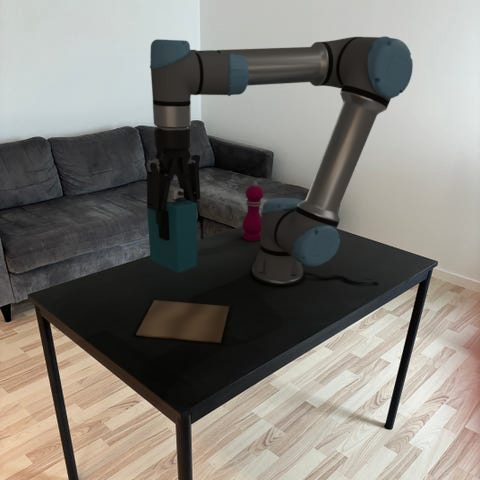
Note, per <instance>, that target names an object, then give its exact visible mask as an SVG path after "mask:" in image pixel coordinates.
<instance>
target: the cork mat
mask: <svg viewBox="0 0 480 480" xmlns="http://www.w3.org/2000/svg"><path fill="white" fill-rule="evenodd" d="M229 311H230V306H229V305H218V304H217V305H216V304H206V303H205V304H204V303H192V302H181V301H171V300H170V301H169V300H157V299H154V300H153V302H152V303H151V305H150V307H149V309H148V311H147V313H146V314H145V316H144V318H143V320H142V322H141V324H140V326H139V327H138V329H137V331H136V333H135V336H138V337H148V338H158V339H169V340H180V341H181V340H182V341H192V342H205V343H215V344H221V343H222V339H223V335H224V331H225V327H226V322H227V318H228V315H229Z"/></svg>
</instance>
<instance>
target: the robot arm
mask: <svg viewBox="0 0 480 480" xmlns="http://www.w3.org/2000/svg"><path fill="white" fill-rule="evenodd" d="M149 55H150V59H149V60H150V61H149V63H150V65H149V69H150V77H151V79H150V80H151V93H152V94H151V96H152V118H153V125H154V126H155V127H154V129H153V138H154V139H153V140H154V146H155V149H156V154H155V158H154V159H152V160H145V161H144V168H145V172H146V208H147V207H148V208H149V209H152V210H154V211H155V212H156V224H157V225H159V238H161V239H164V240H166V241H168V240H170V239H169V214H168V211H166V210H165V209H166V204H167V199H168V194H169V189H170V186H171V182H172V181H173V180H174V176H176V178H177V182H178V185H179V188H180V189H183V197H184V198H186V200H189V201H192V202H195V203H197V204H198V201H200V199H201V183H200V181H201V180H200V162H201V156H200V154H196V153H192V152H191V151H190V148H191V146H192V130H191V128H189V127H190V126H191V125H192V120H191V119H192V114H191V113H192V112H191V111H192V110H191V109H192V108H191V107H192V105H191V104H192V103H191V101H192V100H191V97H192V96H199V95H200V96H228V97H231V96H235V95H236V96H237V95H242V94H243V93H244V92H245V91H246V90H247V87H248V86H265V85H267V86H268V85H283V84H299V83H300V84H301V83H310V84H311V85H312V86H314V87H330V88H331V87H332V88H337V89H340V92H339V95H340V96H341V97H340V98H341V100H342V105H341V107H340V110H339V111H338V115H337V117H336V119H335V123H334V125H333V128H332V130H331V133H330V136H329V138H328V140H327V143H326V146H325V148H324V151H323V153H322V156H321V159H320V161H319V164H318V167H317V169H316V172H315V175H314V177H313V180H312V181H311V185H310V188H309V190H308V193H307V195H306V196H305V197H306V198H305V200H302V199H300V198H293V197H277V198H270V199H267V200H266V201H264V202H263V204H262V210H261V220H262V223H261V231H260V233H261V239H260V240H259V242H260V243H259V251H258V253H257V255H256V257H255V259H254V261H253V262H254V263H253V266H252V270H251V271H252V272H251V275H252V277H253V278H254V279H255V280H256V281H257V282H259V283H262V284H264V285H268V286H273V287H288V286H294V285H296V284H297V285H298V283H301V282H302V281H303V277H304V275H307V276H311V277H314V278H315V279H316V278H317V279H320V280H330V279H335V278H336V279H342V280H344V281H346V282H348V283H352V284H354V285H355V284H358V285H359V284H365V283H367V282H357V281H358V280H355V281H352V280H353V279H351V280H349V279H350V278H349V279H347V278H348V277H347V278H345V277H346V276H345V277H343V276H344V275H342V276H338V275H339V274H331V275H326V276H325V275H319V274H316V273H313V272H309V271H305V270H304V267H303V265H305V266H307V267H319V266H322V265H323V264H324V263H328V262H329V261H330V260H331V259H332V258H334V256H335V255H336V254H337V252H338V251H339V247H340V244H341V238H340V233H339V232H338V229H337V228H338V227H339V224H340V222H341V218H340V216H339V213H338V210H339V208H340V206H341V203H342V201H343V198H344V197H345V194H346V192H347V189H348V187H349V184H350V181H351V179H352V177H353V175H354V173H355V170H356V168H357V165H358V162H359V159H360V157H361V155H362V152H363V150H364V148H365V146H366V143H367V140H368V138H369V136H370V133H371V131H372V128H373V126H374V124H375V122H376V119H377V116H378V115H379V114H381V113H383V112H385V111H387V109H388V107H389V105H390V102H391V100H392V99H394V98H397V97H399V96H400V94H402V93H403V92H404V91H405V90H406V89H407V87H408V86H409V84H410V82H411V78H412V75H413V68H414V66H413V65H414V62H413V58H412V53H411V50H410V49H409V46H408V45H407V44H406V43H405V42H404V41H403V40H400V39H398V38H395V37H389V36H385V35H384V36H351V37H344V38H340V39H335V40H334V39H333V40H326V41H316V42H313V44H311V46H298V47H297V46H296V47H268V48H267V47H266V48H265V47H264V48H237V49H236V48H235V49H216V50H215V49H206V50H204V49H203V50H197V49H191V45H190V42H189V41H188V40H184V39H183V40H181V39H179V40H178V39H158V38H157V39H154V40H153V41H152V42H151V44H150V54H149ZM365 280H372V278H367V279H365ZM375 281H376V282H372V283H373V284H374V285H376V286H380V284H379V282H378V281H377V280H375Z"/></svg>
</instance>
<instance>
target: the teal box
mask: <svg viewBox="0 0 480 480" xmlns="http://www.w3.org/2000/svg"><path fill="white" fill-rule="evenodd" d="M165 210H166V211H168V214H169V239H170V240H168V241H166V240H164V239H161V238H159V225H157V224H156V212H155V211H154V210H152V209H149V208H148V207H147V206H146V211H147V226H148V227H147V228H148V242H149V243H148V244H149V259H150V261H152V262H154V263H156V264H159V265H160V266H162V267H164V268H167V269H169V270H171V271H173V272H175V273H177V274H179V273H182V272H185V271H187V270H190V269H192V268H195V267H197V266H198V202H197V203H195V202H192V201H189V200H186V198H184V197H183V189H180V187H177V186H174V185H170V189H169V194H168V199H167V204H166V209H165Z"/></svg>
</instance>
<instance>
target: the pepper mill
mask: <svg viewBox="0 0 480 480" xmlns="http://www.w3.org/2000/svg"><path fill="white" fill-rule="evenodd" d="M263 197H264V191H263V188H262V187H261V186H259V185H258V182H257V181H253V182H252V185H250V186H248V188H246V190H245V198H246V199H247V200H246V205H247V212H246V214H245V217H244V219H243V221H242V230H243V231H244V232H243V234H242V235H243V236H242V237H243V240H246V241H248V242H256V241H260V240H261V223H262V216H261V214H260V206H261V205H262V199H263Z"/></svg>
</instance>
